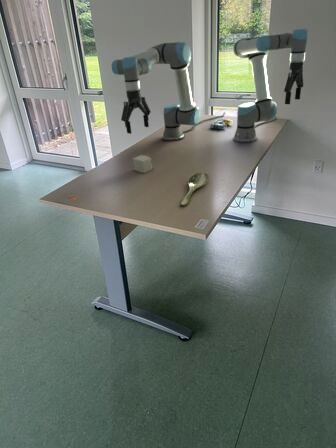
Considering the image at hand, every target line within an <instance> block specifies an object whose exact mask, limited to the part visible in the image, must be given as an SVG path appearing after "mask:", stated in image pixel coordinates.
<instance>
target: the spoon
mask: <svg viewBox="0 0 336 448" xmlns="http://www.w3.org/2000/svg"><path fill="white" fill-rule="evenodd" d="M209 180H210V176H209V174H208V173H206V172H203V171H200V172H199V171H198V172H195V173H194V174H192V175H191V176H189V178H188V180H187V185H188V187H189V188H188V189H189V190H188V192H187V193H186V195H185V196H184V197H183V198H182V200H181V202H180V206H183V207H185V206H187V205H188V203H189V201H190V199H191V197H192V195H193V193H194V191H196V190H197V189H199V188H201V187H203V186H205V185H206V184H207V183H208V182H209Z"/></svg>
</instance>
